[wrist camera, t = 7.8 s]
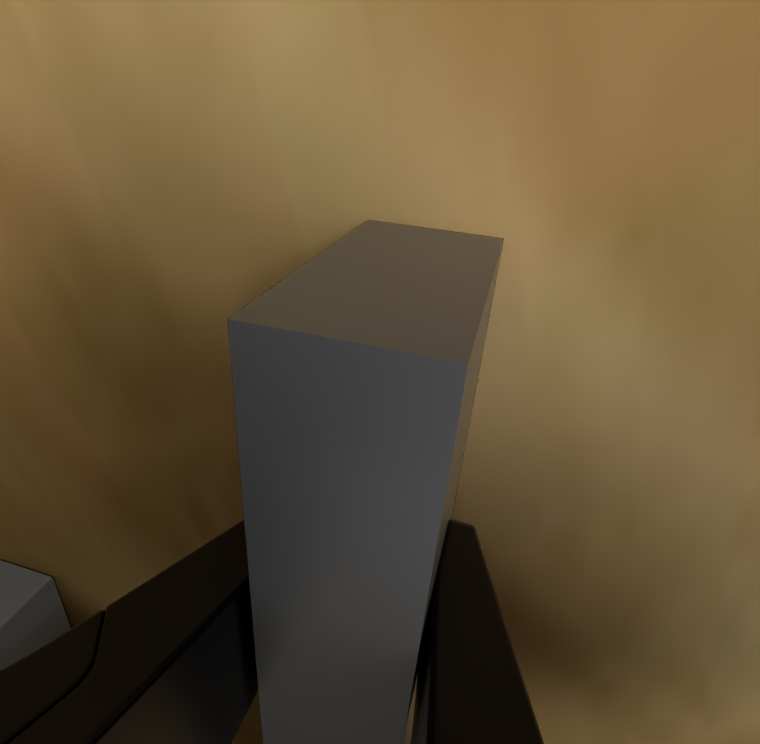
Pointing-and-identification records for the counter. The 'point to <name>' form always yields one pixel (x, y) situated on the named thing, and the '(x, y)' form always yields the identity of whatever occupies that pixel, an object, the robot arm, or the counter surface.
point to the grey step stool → (27, 612)
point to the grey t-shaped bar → (354, 469)
